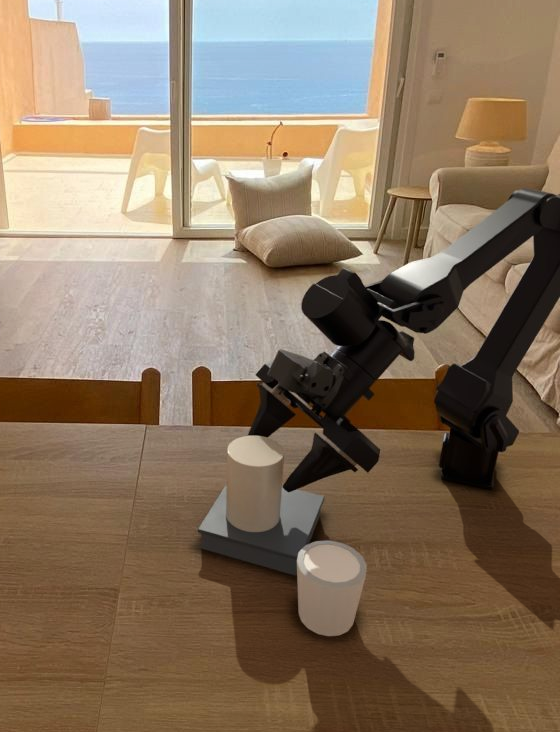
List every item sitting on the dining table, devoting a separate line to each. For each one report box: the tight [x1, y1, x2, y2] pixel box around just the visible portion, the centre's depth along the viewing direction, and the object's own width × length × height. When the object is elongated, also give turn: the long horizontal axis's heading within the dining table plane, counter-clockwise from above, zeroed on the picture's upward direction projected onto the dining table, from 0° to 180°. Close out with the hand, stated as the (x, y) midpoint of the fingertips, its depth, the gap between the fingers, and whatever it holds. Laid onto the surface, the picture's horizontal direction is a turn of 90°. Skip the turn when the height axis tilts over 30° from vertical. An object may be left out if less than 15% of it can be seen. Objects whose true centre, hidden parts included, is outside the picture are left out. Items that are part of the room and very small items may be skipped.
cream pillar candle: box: [225, 435, 285, 532], centre depth 80 cm, size 6×6×9 cm
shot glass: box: [296, 540, 368, 637], centre depth 70 cm, size 7×7×7 cm
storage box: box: [197, 483, 326, 577], centre depth 83 cm, size 12×12×3 cm
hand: (264, 467), depth 80 cm, fingers open, 9 cm apart
